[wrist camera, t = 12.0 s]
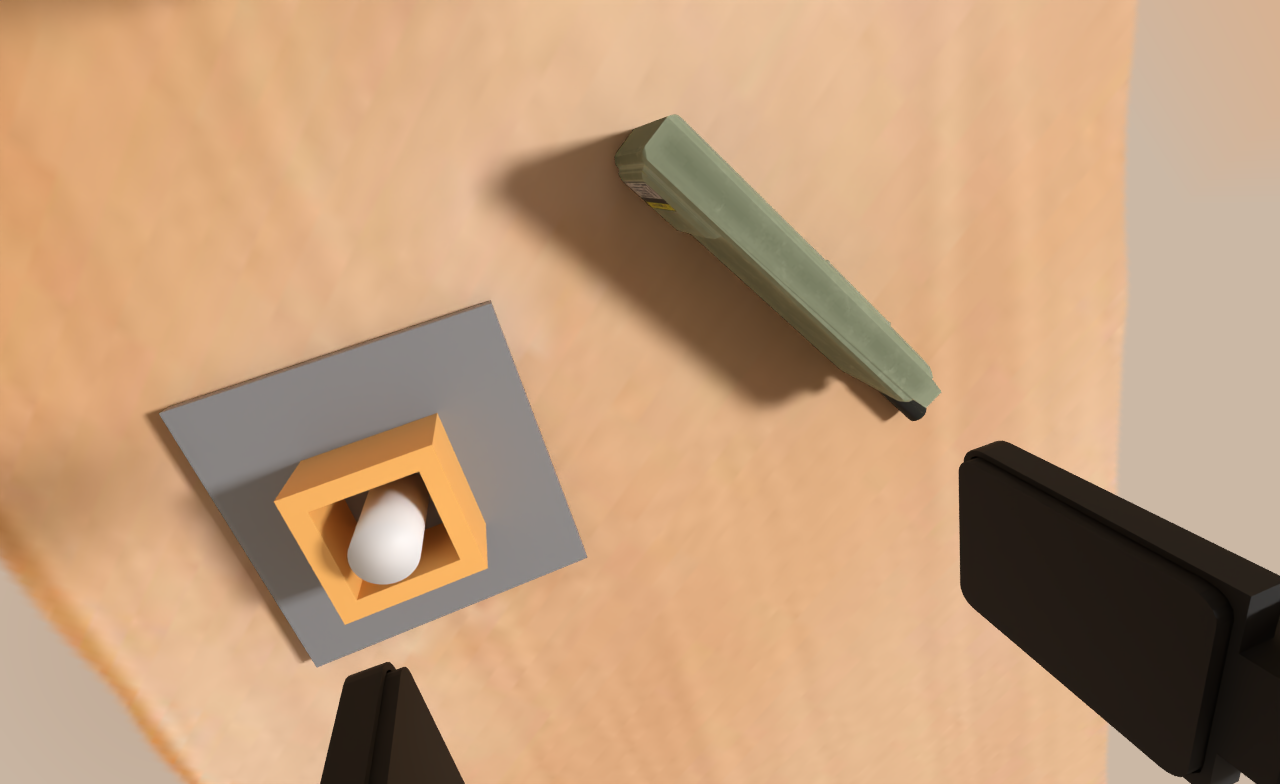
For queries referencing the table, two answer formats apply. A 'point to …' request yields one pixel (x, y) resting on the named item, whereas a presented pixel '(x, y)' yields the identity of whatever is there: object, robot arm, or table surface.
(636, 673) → the table surface
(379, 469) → the orange open box
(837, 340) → the handheld radio
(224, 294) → the table surface
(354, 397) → the plate
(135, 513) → the table surface
